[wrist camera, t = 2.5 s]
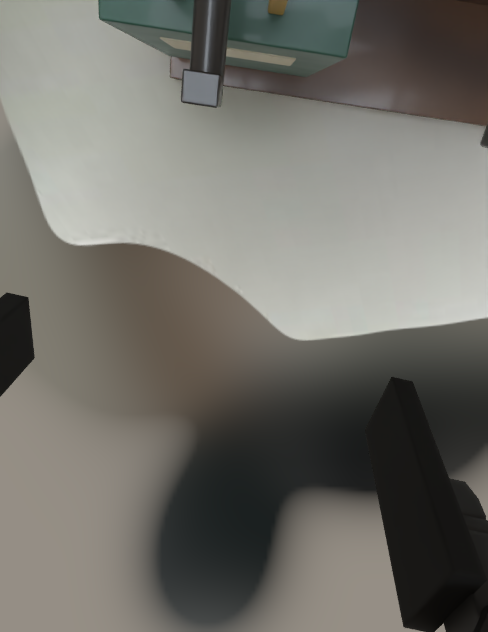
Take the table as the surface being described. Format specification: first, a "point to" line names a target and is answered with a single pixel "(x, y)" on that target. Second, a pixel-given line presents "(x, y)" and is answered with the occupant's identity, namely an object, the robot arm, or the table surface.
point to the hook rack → (364, 61)
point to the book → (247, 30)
